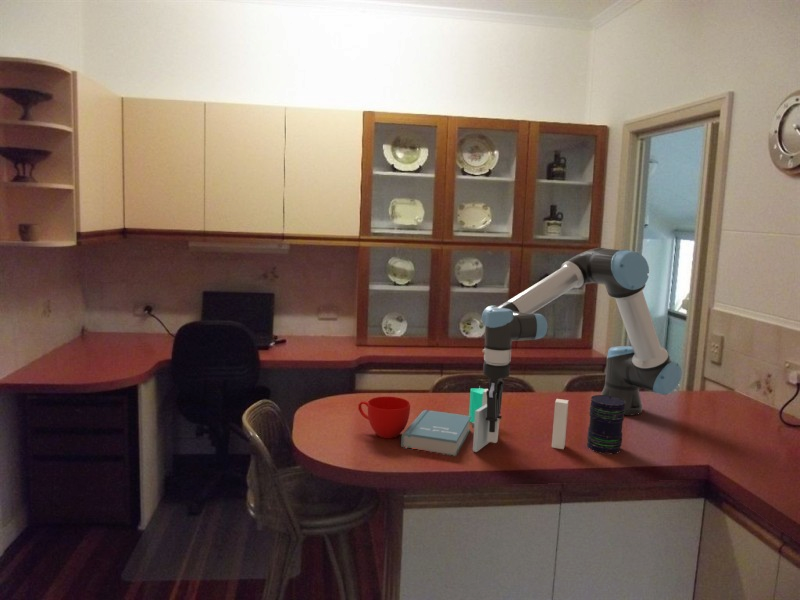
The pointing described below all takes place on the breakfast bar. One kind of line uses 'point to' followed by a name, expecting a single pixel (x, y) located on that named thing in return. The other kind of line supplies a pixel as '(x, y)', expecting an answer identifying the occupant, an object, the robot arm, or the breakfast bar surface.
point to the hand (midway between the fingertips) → (492, 440)
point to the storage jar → (606, 423)
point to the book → (437, 432)
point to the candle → (475, 401)
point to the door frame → (559, 421)
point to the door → (480, 428)
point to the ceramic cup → (387, 415)
